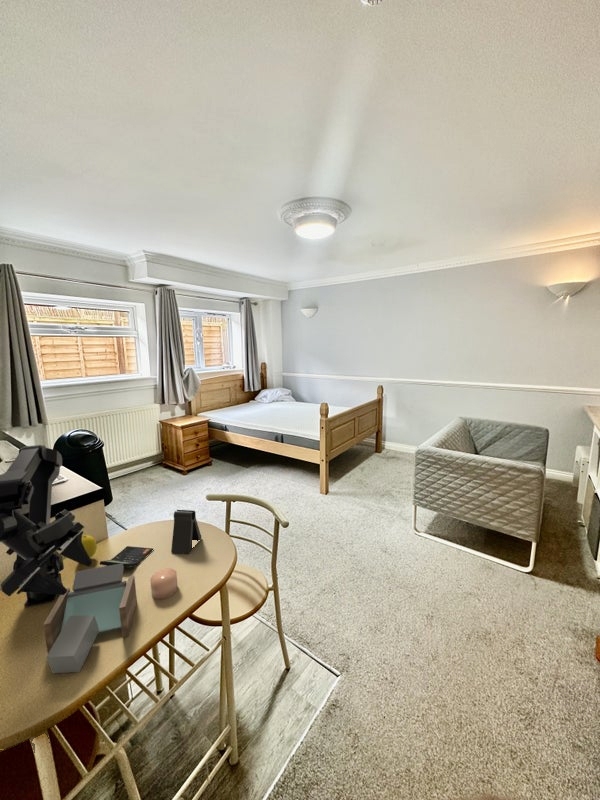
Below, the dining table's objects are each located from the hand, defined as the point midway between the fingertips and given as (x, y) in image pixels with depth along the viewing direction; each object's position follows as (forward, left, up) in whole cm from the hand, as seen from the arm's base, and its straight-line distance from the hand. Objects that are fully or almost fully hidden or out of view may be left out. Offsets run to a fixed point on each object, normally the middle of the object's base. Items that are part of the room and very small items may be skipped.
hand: (79, 578), depth 73 cm
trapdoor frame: (+2, +1, -14) cm, 14 cm away
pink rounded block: (+16, +9, -14) cm, 23 cm away
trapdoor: (+2, +4, -9) cm, 10 cm away
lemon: (-8, +31, -14) cm, 35 cm away
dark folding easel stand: (+21, +29, -14) cm, 38 cm away
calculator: (+4, +27, -14) cm, 31 cm away
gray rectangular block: (+1, -3, -9) cm, 10 cm away
